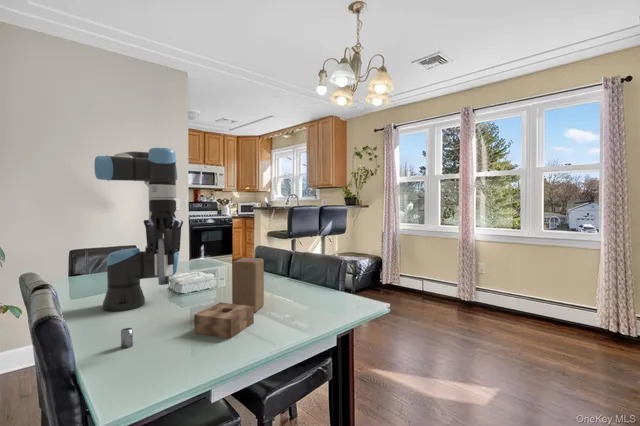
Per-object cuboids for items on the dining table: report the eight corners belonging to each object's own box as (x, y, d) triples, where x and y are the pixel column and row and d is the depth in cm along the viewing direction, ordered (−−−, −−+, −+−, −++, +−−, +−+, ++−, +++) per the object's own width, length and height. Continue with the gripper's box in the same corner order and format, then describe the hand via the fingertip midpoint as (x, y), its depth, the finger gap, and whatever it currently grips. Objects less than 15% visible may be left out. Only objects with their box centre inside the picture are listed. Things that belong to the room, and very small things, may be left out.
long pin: (156, 284, 101) (155, 239, 101) (163, 282, 104) (163, 238, 103) (163, 285, 100) (163, 239, 100) (171, 282, 103) (170, 238, 102)
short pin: (118, 347, 97) (118, 331, 97) (127, 343, 100) (127, 327, 100) (126, 349, 96) (126, 332, 96) (135, 345, 99) (134, 328, 99)
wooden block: (255, 313, 127) (255, 262, 126) (231, 312, 129) (230, 261, 128) (264, 305, 137) (264, 258, 136) (242, 304, 139) (242, 257, 138)
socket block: (194, 332, 108) (194, 314, 108) (220, 318, 122) (220, 302, 121) (231, 338, 104) (230, 319, 104) (253, 323, 117) (253, 306, 117)
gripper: (132, 199, 100) (133, 275, 101) (174, 198, 95) (175, 279, 96) (152, 199, 107) (153, 270, 108) (192, 199, 102) (193, 274, 103)
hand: (163, 274), depth 102 cm, fingers closed on long pin, 3 cm apart
